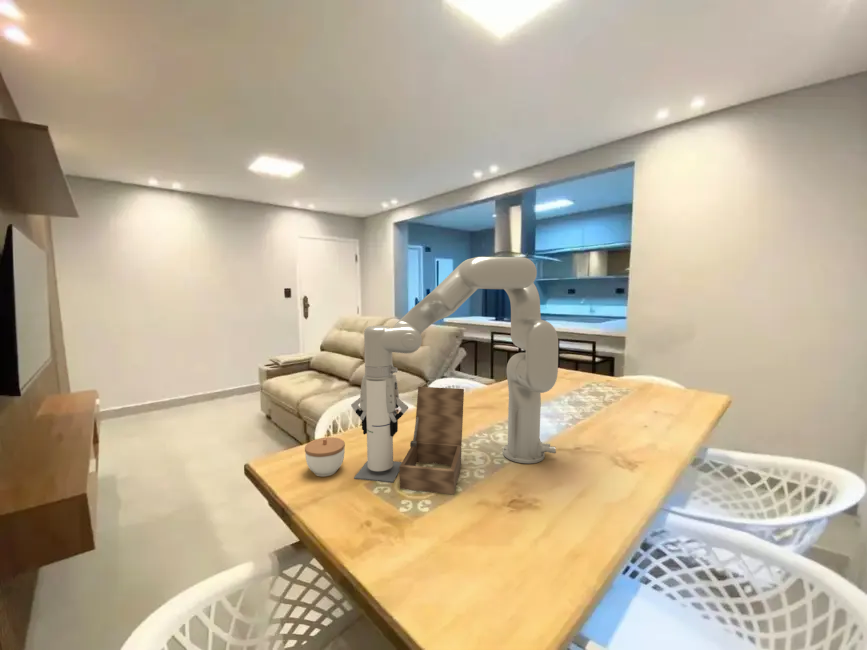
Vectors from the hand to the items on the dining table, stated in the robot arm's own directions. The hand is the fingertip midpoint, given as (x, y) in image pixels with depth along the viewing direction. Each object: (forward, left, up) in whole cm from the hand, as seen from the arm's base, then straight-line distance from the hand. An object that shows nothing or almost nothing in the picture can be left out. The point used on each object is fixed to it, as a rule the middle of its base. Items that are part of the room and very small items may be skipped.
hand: (379, 433), depth 104 cm
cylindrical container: (0, 0, -10) cm, 10 cm away
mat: (0, 0, -11) cm, 11 cm away
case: (-15, -3, -11) cm, 19 cm away
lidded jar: (+15, +3, -11) cm, 19 cm away
